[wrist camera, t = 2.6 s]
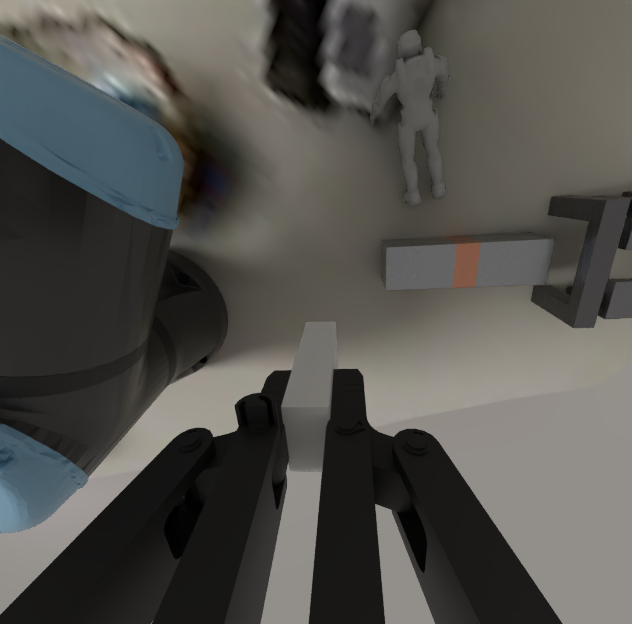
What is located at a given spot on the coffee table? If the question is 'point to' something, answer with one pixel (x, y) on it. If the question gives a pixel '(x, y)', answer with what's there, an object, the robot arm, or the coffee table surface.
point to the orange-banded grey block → (466, 261)
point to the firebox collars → (593, 262)
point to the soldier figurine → (416, 109)
